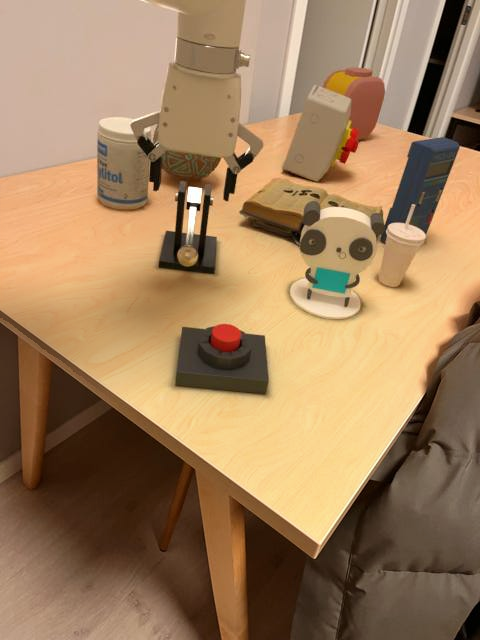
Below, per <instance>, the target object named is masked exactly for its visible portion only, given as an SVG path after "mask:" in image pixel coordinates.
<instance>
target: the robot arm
mask: <svg viewBox="0 0 480 640" xmlns="http://www.w3.org/2000/svg"><path fill="white" fill-rule="evenodd" d="M139 1H140V2H143V3H146V4H150V5H152V6H156V7H161V8H164V9H168V10H172V11H174V12H178V13H177V23H176V24H177V25H176V37H175V38H176V39H175V49H174V50H175V51H174V62H169V63H168V65H167V68H166V69H167V70H166V73H165V77H164V83H163V90H162V94H161V102H160V108H159V109H160V110H157V111H154V112H152V113H148V114H145V115H143V116H140V117H138V118H134V119H135V120H133V121H132V123H131V125H130V126H131V129H132V131H133V134H134V136H135V138H136V140H137V143H138V145H139V147H140V148H141V149H142V150H143V151H144V153H145V154H146V155H147V156H148V159H149V160H150V167H149V182H148V183H153V184H152V185H153V186H152V188H153V189H152V191H153V192H158V191H160V187H161V185H162V184H161V183H162V171H163V169H162V159H163V158H162V157H161V155H162V154H163V153H164V152H165V151H167V150H172V151H178V152H184V153H191V154H197V155H204V156H211V157H219V158H221V159H223V160H224V162H225V163H226V164H227V167H226V174H225V179H224V180H225V181H224V187H223V195H222V200H223V201H224V202H229V200H230V195H231V194H232V195H235V191H236V185H237V179H238V174H240V173H241V172H242V170H244V169H245V168H246V167H248V166H249V165H251V164H252V163H253V162H254V160H255V159H256V157H257V156H258V155H259V154H260V153H261V151H262V149H263V148H264V141H263V139H261V138H260V137H259V136H257V135H256V134H254V132H252V131H251V130H250V129H248V128H247V127H245V125H243V124H241V123H240V118H241V117H240V116H241V103H242V76H241V74H240V73H238V72H237V69H238V70H239V69H240V68H243V67H247V68H249V66H250V60H251V55H250V54H245V52H242V49H240V47H241V46H240V45H241V37H242V31H243V24H244V18H245V17H244V16H245V9H246V2H247V0H139ZM158 123H159V127H158V142H157V143H156V144H155V145H154V144H153V141H152V140H151V141H150V139H149V138H148V137H147V136H146V134H145V131H144V129H145V128H147V127H152V126H157V125H158ZM238 138H240V139H241V140H242V141H244V142H245V143H246V144H248V145H249V147H248V149H247V150H246V151H245V152H244V153H242V154H241V155H239V156H237V154H236V152H235V151H236V146H237V143H238V142H237V141H238Z"/></svg>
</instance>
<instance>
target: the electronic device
mask: <svg viewBox="0 0 480 640" xmlns="http://www.w3.org/2000/svg"><path fill="white" fill-rule="evenodd" d="M460 148H461V145H460V144H459V142H458V141H455V140H452V139H450V138H447V137H444V136H441V137H434V138H428V139H427V138H426V139H421V140H420V139H419V140H414V141H411V143H410V147H409V150H408V152H407V160H406V163H405V166H404V168H403V169H404V170H403V172H402V176H401V178H400V181H399V185H398V188H397V191H396V194H395V197H394V200H393V203H392V206H391V207H390V208H389V210H388V213H387V216H386V219H385V221H384V226H385V231H384V233H383V234H382V235H380V241H381V243H383V244H385V243H386V238H387V233H386V230H387V228H388V225H389V224H392V223H406V220H407V217H408V214H409V212H410V209H411V206H412V204H414V205H415V208H414V211H413V214H412V216H411V219H410V222H409V225H412V226H415V227H417V228H419V229H421V230H422V231H423V232H424V233H425V234H426V235H427V234H428V231H429V228H430V226H431V224H432V221H433V218H434V216H435V213H436V211H437V208H438V205H439V202H440V200H441V197H442V196H443V192H444V189H445V187H446V184H447V181H448V179H449V176H450V174H451V172H452V169H453V166H454V163H455V161H456V159H457V156H458V153H459V150H460Z"/></svg>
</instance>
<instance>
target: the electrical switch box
mask: <svg viewBox="0 0 480 640" xmlns="http://www.w3.org/2000/svg"><path fill="white" fill-rule="evenodd" d="M350 115H351V99H350V98H348V97H346V96H343V95H341V94H338V93H336V92H333V91H330V90H328V89H325V88H323V86H320V85H318V84H314V85H313V86H312V89H311V90H310V92H309V94H308V95H307V98H306V101H305V103H304V106H303V109H302V112H301V114H300V117H299V120H298V123H297V126H296V129H295V131H294V134H293V137H292V140H291V143H290V145H289V148H288V150H287V154H286V156H285V159H284V162H283V164H282V167H281V168H282V170H284V171H287V172H289V173H292V174H295V175H297V176H300V177H302V178H305V179H307V180H310V181H312V182H315V183H317V182H320V180H321V179H322V178H323V177H324V176H325V174H327V172H328V171H329V169H330V166H331V167H334V165H335V163H336V160H337V161H339V163H341V164H344V165H346V163H347V161H348V159H349V156H350V154H351V153H357V149H358V148H359V144H360V140H356V137H357V135H358V132H359V130H357V129H355V128H353V129H350V128H349V127H350V124H351V121H350V120H349V118H350Z"/></svg>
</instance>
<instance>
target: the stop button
mask: <svg viewBox="0 0 480 640" xmlns="http://www.w3.org/2000/svg"><path fill="white" fill-rule="evenodd" d="M214 326H215V327H214V328H213V329H212V335H211V345H212V347H213V348H215V349H217V350H219V351H221V352H233V351H236V350H237V349H238V348H239V345H240V340H241V331H242V330H241V329H239V328H238V327H237V326H235V325H233V324H230V323H219V324H216V325H214ZM240 330H241V331H240Z"/></svg>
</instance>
